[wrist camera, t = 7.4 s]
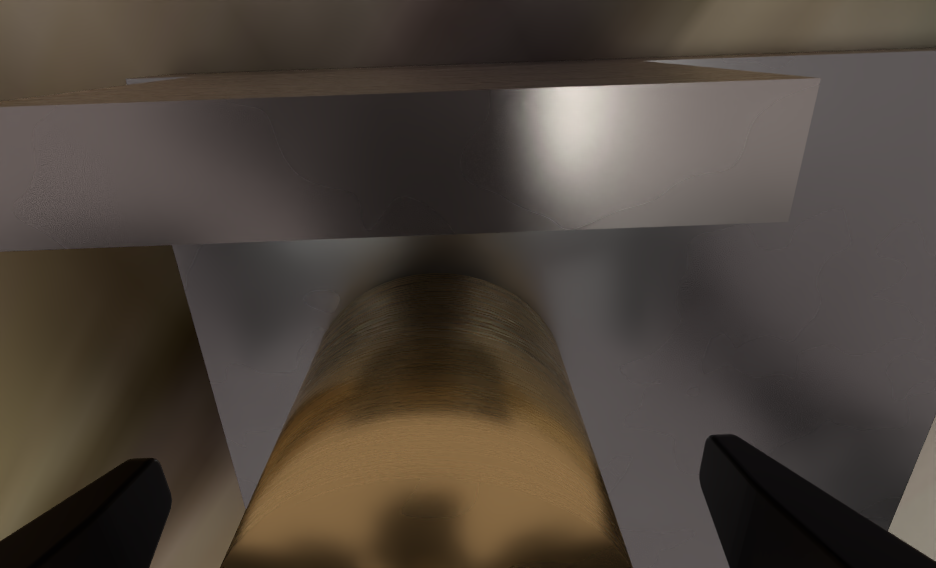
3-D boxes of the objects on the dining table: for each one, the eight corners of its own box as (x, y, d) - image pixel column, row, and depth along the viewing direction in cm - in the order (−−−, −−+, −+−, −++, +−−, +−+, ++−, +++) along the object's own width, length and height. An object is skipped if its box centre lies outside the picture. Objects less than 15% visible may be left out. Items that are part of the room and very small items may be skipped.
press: (1015, 45, 9) (1676, 47, 4) (790, 665, 17) (936, 936, 12) (163, 74, 9) (-191, 113, 4) (317, 687, 17) (257, 970, 12)
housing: (569, 267, 10) (684, 492, 5) (559, 476, 12) (631, 778, 7) (294, 279, 10) (133, 515, 5) (332, 485, 12) (247, 797, 7)
